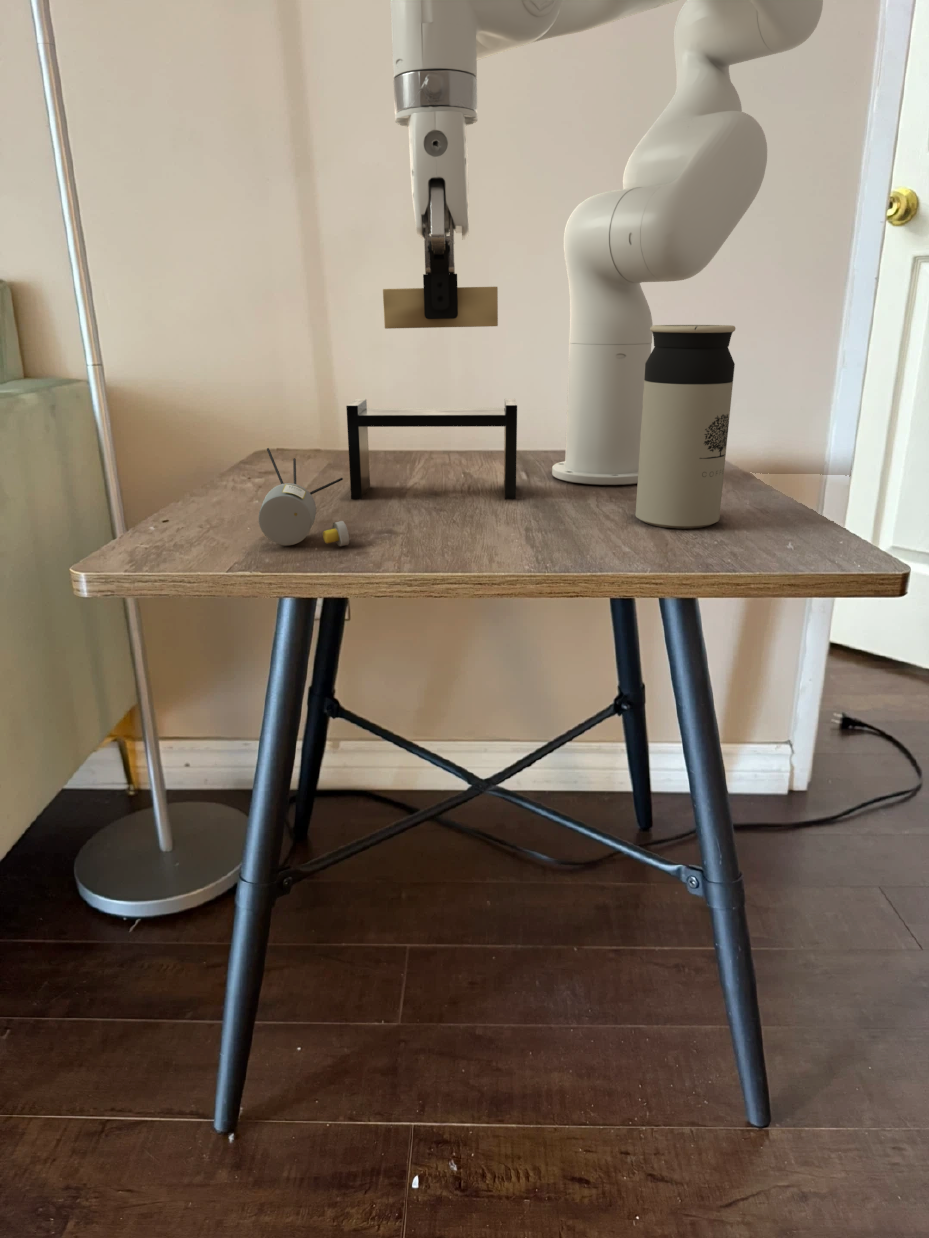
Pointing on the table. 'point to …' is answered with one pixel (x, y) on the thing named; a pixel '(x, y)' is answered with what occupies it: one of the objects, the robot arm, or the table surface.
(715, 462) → the travel mug
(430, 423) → the shelf
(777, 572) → the table surface
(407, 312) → the block
